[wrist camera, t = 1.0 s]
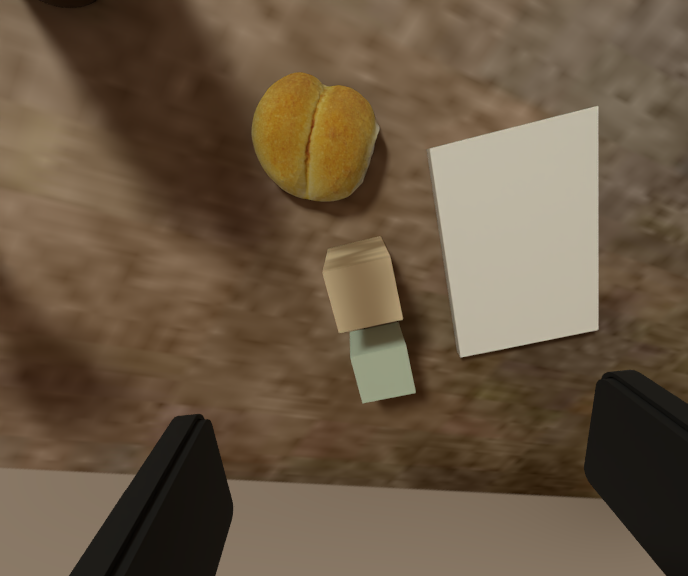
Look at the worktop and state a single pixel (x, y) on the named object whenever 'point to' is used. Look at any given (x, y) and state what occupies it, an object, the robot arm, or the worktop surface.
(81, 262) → the worktop surface
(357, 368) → the sage cube
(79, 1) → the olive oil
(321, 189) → the bread roll
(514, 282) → the ceramic tile
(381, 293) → the maple block
